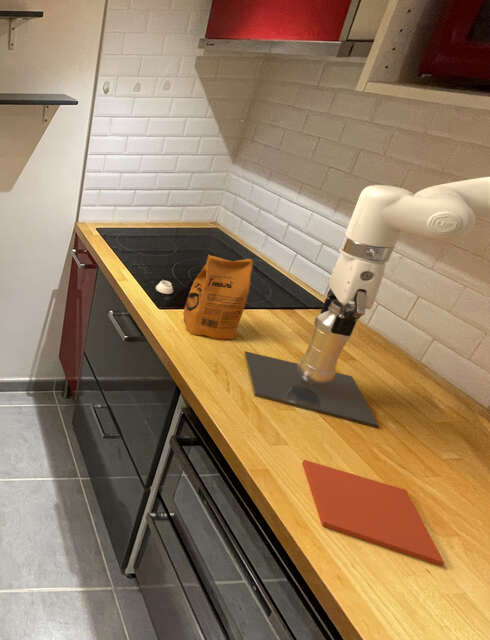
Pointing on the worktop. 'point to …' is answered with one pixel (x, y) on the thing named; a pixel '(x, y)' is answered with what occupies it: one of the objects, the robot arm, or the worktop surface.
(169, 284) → the white ridged tapered disc
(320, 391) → the slate board
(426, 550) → the terracotta tile
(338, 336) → the plastic bottle
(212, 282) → the coffee package
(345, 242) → the robot arm
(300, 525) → the worktop surface
